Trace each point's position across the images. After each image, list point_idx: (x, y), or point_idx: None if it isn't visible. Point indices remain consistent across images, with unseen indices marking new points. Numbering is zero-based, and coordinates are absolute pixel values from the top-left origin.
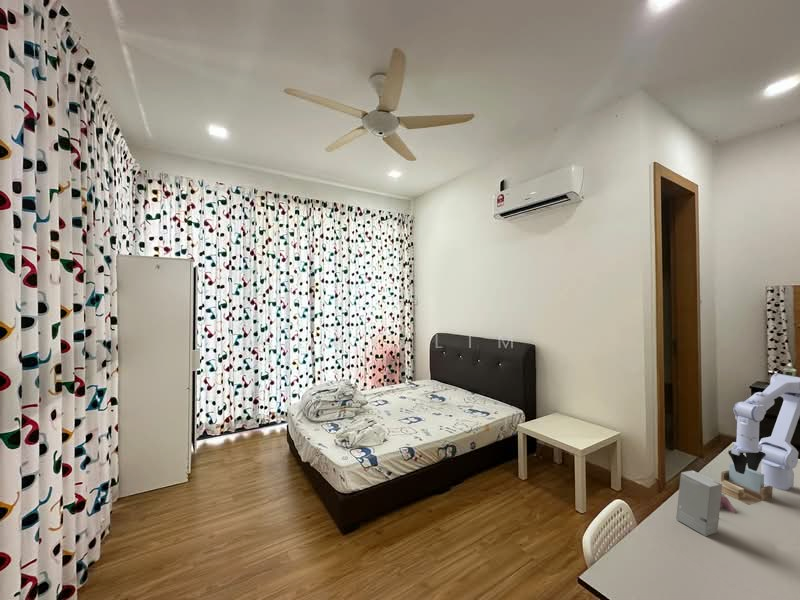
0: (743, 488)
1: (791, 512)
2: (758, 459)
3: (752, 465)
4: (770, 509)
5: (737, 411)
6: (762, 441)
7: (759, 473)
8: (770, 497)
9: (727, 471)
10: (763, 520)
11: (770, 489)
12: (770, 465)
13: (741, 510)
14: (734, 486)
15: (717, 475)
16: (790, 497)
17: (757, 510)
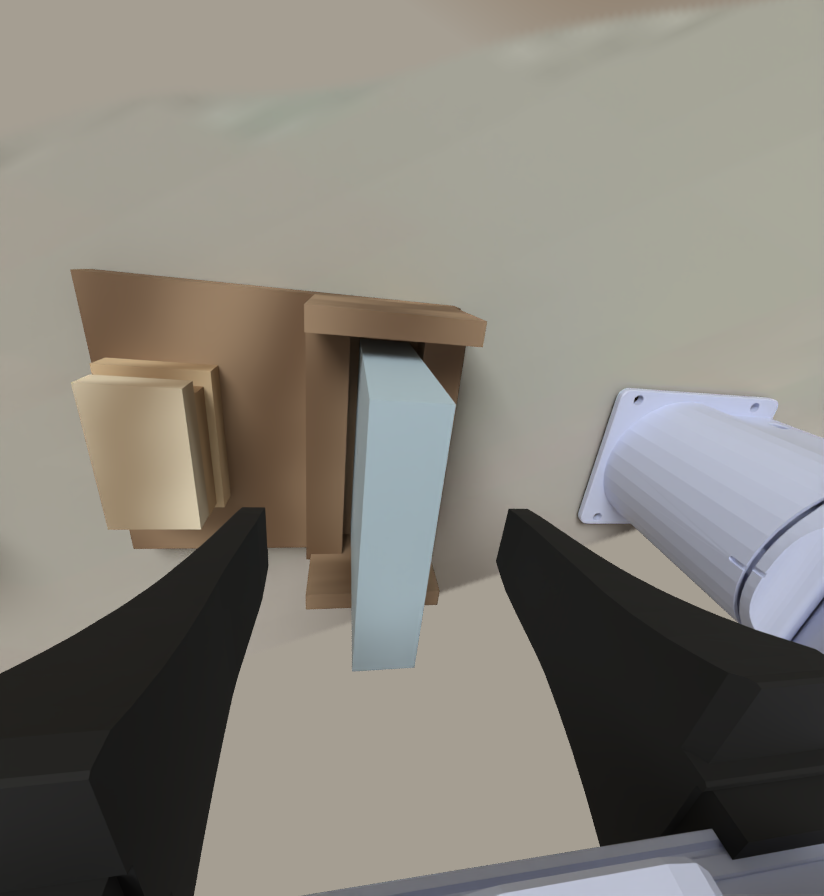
0: (306, 468)
1: None
2: (569, 725)
3: (525, 575)
4: (287, 571)
5: None
6: None
7: (389, 649)
8: None
9: (398, 329)
10: (91, 615)
11: None
12: (750, 580)
13: (55, 534)
14: (148, 486)
15: (514, 174)
16: (577, 539)
17: (183, 558)
